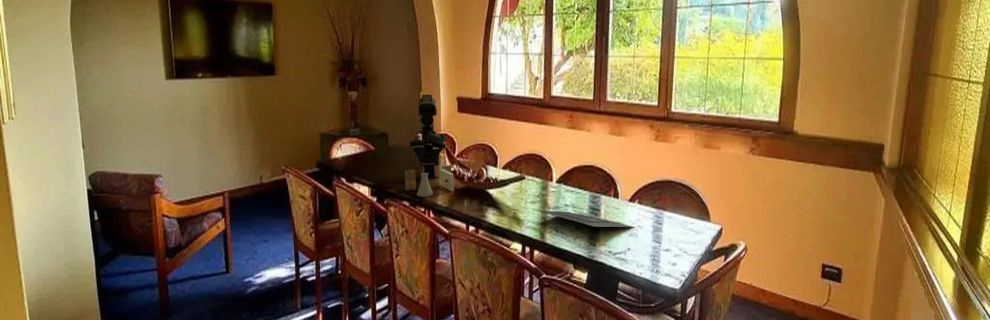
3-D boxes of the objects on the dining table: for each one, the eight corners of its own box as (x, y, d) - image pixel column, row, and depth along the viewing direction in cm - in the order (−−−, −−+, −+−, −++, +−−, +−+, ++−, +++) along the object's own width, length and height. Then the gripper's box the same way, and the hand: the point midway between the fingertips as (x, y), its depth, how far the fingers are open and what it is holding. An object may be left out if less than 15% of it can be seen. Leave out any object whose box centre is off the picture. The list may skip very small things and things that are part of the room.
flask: (413, 196, 275) (412, 174, 273) (422, 192, 281) (422, 170, 279) (427, 198, 272) (426, 176, 269) (436, 194, 278) (435, 172, 276)
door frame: (405, 189, 286) (404, 170, 284) (450, 183, 296) (450, 164, 294) (406, 190, 284) (406, 171, 282) (452, 184, 294) (452, 165, 292)
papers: (574, 218, 254) (575, 209, 254) (634, 234, 232) (635, 224, 232) (532, 217, 238) (534, 208, 238) (593, 234, 216) (595, 224, 216)
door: (438, 185, 291) (437, 169, 289) (443, 184, 292) (442, 168, 291) (448, 191, 281) (447, 174, 279) (453, 190, 282) (453, 174, 280)
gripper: (426, 125, 273) (427, 161, 272) (454, 129, 288) (455, 162, 287) (408, 128, 280) (409, 163, 278) (436, 132, 295) (437, 164, 293)
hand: (428, 163), depth 284 cm, fingers open, 9 cm apart
